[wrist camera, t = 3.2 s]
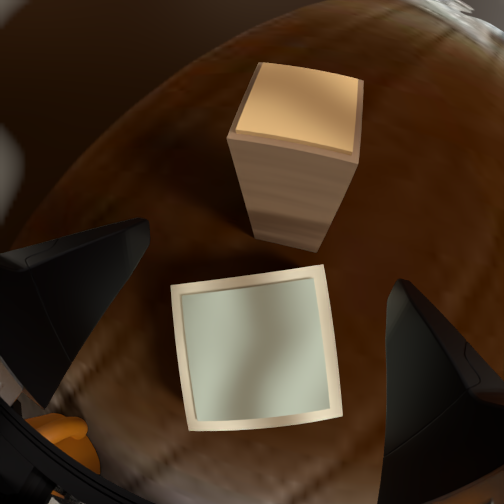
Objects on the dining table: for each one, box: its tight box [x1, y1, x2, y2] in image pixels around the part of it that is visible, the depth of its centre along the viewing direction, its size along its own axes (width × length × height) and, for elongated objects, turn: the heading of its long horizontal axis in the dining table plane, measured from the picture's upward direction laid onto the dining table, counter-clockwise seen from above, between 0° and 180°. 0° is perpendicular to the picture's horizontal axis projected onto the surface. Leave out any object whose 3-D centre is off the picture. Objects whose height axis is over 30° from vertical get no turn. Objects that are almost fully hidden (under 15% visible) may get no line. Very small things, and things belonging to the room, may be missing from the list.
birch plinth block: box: [171, 265, 343, 431], centre depth 19 cm, size 10×10×4 cm
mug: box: [24, 413, 101, 499], centre depth 15 cm, size 9×12×9 cm
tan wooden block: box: [227, 62, 363, 253], centre depth 17 cm, size 5×5×13 cm
